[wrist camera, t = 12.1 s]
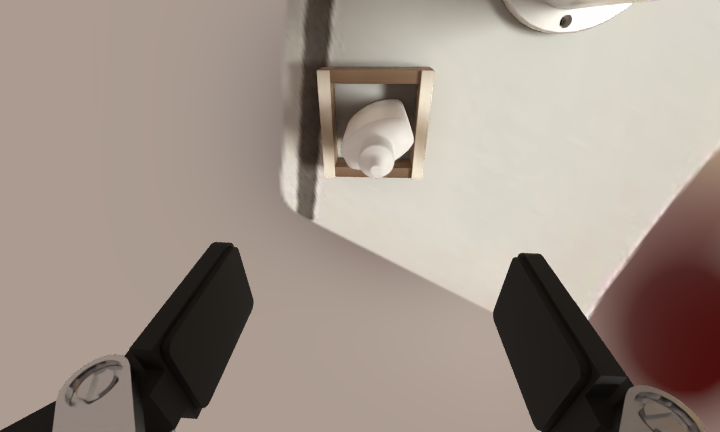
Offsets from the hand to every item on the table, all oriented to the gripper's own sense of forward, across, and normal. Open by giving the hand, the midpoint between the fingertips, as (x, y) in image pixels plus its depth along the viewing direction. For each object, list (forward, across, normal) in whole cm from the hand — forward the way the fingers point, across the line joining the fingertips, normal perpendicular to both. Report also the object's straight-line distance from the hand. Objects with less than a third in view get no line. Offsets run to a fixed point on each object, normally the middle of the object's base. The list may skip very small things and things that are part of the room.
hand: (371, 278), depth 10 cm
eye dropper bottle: (+22, 0, 0) cm, 22 cm away
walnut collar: (+22, 0, 0) cm, 22 cm away
